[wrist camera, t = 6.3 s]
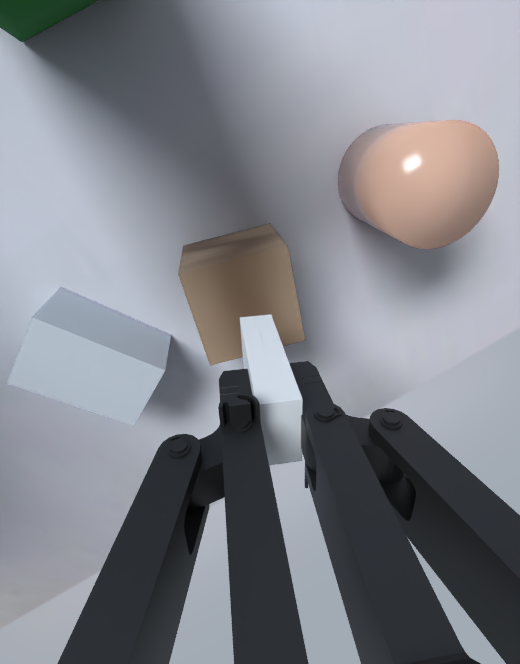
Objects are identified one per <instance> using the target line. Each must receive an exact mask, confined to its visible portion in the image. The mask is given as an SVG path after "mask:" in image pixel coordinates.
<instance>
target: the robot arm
mask: <svg viewBox="0 0 520 664" xmlns="http://www.w3.org/2000/svg"><path fill="white" fill-rule="evenodd" d="M240 327H241V340H242V353H243V366H244V369H240V370H231V371H223V373H222V375H221V376H220V378H219V388H220V403H219V407H218V409H219V417H220V426H219V428H218V429H217V430H216V431H215V432H214V433H212V434H211V435H209V436H207V437H205V438H202V439H200V440H198V439H197V438H196V437H194V436H193V435H188V434H179V435H175V436H172V437H170V438H168V439H167V440H165V441H164V442H163V443H162V444H161V445H160V447H159V448H158V450H157V452H156V454H155V457H154V459H153V461H152V463H151V465H150V467H149V469H148V472H147V474H146V476H145V478H144V480H143V482H142V484H141V487H140V489H139V491H138V493H137V495H136V497H135V499H134V501H133V504H132V506H131V508H130V510H129V512H128V514H127V516H126V519H125V521H124V523H123V525H122V527H121V529H120V531H119V534H118V536H117V538H116V540H115V542H114V544H113V546H112V548H111V551H110V553H109V555H108V557H107V559H106V561H105V563H104V566H103V568H102V570H101V572H100V574H99V576H98V578H97V581H96V583H95V585H94V587H93V589H92V592H91V593H90V596H89V598H88V600H87V602H86V604H85V606H84V608H83V610H82V613H81V615H80V617H79V619H78V621H77V623H76V625H75V628H74V630H73V632H72V634H71V636H70V638H69V640H68V643H67V645H66V647H65V649H64V651H63V653H62V655H61V657H60V660H59V662H58V664H169V661H170V657H171V653H172V649H173V646H174V642H175V638H176V634H177V630H178V626H179V623H180V619H181V615H182V611H183V607H184V603H185V599H186V596H187V592H188V588H189V584H190V580H191V576H192V572H193V569H194V565H195V561H196V557H197V553H198V549H199V545H200V541H201V538H202V534H203V530H204V526H205V522H206V518H207V514H208V511H209V504H210V503H212V502H215V501H217V500H219V499H221V498H223V497H225V509H226V526H227V527H226V528H227V544H228V561H229V562H228V563H229V581H230V597H231V615H232V633H233V649H234V650H233V651H234V664H308V660H307V655H306V649H305V645H304V639H303V634H302V629H301V624H300V619H299V614H298V609H297V604H296V599H295V594H294V589H293V584H292V579H291V574H290V568H289V564H288V558H287V553H286V548H285V543H284V538H283V533H282V528H281V523H280V518H279V513H278V508H277V503H276V498H275V493H274V488H273V482H272V478H271V472H270V467H269V465H274V464H281V463H289V462H296V461H302V452H303V455H304V459H305V488H308V484H309V487H310V491H311V494H312V497H313V501H314V504H315V508H316V511H317V515H318V518H319V522H320V525H321V528H322V531H323V535H324V538H325V542H326V545H327V549H328V552H329V555H330V559H331V562H332V566H333V569H334V573H335V576H336V579H337V583H338V586H339V590H340V593H341V596H342V600H343V603H344V606H345V610H346V614H347V617H348V620H349V624H350V627H351V630H352V634H353V637H354V641H355V644H356V647H357V651H358V654H359V658H360V661H361V664H480V663H479V662H476V661H475V660H473V659H471V658H470V657H469V656H468V655H467V654H466V652H465V651H464V649H463V648H462V646H461V644H460V642H459V640H458V638H457V636H456V634H455V632H454V630H453V628H452V626H451V624H450V622H449V620H448V618H447V616H446V614H445V612H444V611H443V608H442V606H441V604H440V602H439V600H438V598H437V596H436V594H435V592H434V590H433V588H432V586H431V584H430V582H429V580H428V578H427V576H426V574H425V572H424V570H423V568H422V566H421V564H420V562H419V560H418V558H417V556H416V554H415V552H414V550H413V548H412V546H411V544H410V542H409V540H410V541H411V542H412V544H413V545H414V546H415V547H416V549H417V550H418V551H419V553H420V554H421V555H422V556H423V558H424V559H425V560H426V561H427V563H428V564H429V565H430V567H431V568H432V569H433V570H434V572H435V573H436V574H437V576H438V577H439V578H440V579H441V581H442V582H443V583H444V585H445V586H446V587H447V588H448V590H449V591H450V592H451V593H452V595H453V596H454V597H455V599H456V600H457V601H458V603H459V604H460V605H461V606H462V608H463V609H464V610H465V611H466V613H467V614H468V615H469V617H470V618H471V619H472V620H473V622H474V623H475V624H476V625H477V627H478V628H479V629H480V631H481V632H482V633H483V634H484V636H485V637H486V638H487V640H488V641H489V642H490V643H491V645H492V646H493V647H494V649H495V650H496V651H497V652H498V654H499V655H500V656H501V658H502V659H503V660H504V661H505V663H506V664H520V515H519V514H517V513H516V512H515V511H514V510H513V509H512V508H511V507H510V506H508V505H507V504H506V503H505V502H504V501H503V500H502V499H500V498H499V497H498V496H497V495H496V494H495V493H494V492H493V491H492V490H490V489H489V488H488V487H487V486H486V485H485V484H484V483H483V482H481V481H480V480H479V479H478V478H477V477H476V476H475V475H474V474H472V473H471V472H470V471H469V470H468V469H467V468H466V467H464V466H463V465H462V464H461V463H460V462H459V461H458V460H457V459H455V458H454V457H453V456H452V455H451V454H450V453H449V452H448V451H446V450H445V449H444V448H443V447H442V446H441V445H440V444H438V443H437V442H436V441H435V440H434V439H432V437H431V436H430V435H428V434H427V433H426V432H425V431H424V430H423V429H422V428H420V427H419V426H418V425H417V424H416V423H415V422H414V421H413V420H412V419H410V418H409V417H408V416H407V415H405V414H404V413H402V412H400V411H397V410H395V409H387V408H384V409H378V410H376V411H374V412H373V413H372V414H371V416H370V419H365V418H356V417H351V416H348V415H346V414H345V412H344V411H343V410H342V409H341V408H340V407H338V406H337V405H335V404H333V402H332V399H331V397H330V395H329V393H328V391H327V389H326V387H325V385H324V383H323V381H322V379H321V377H320V375H319V372H318V370H317V368H316V367H315V366H314V365H312V364H311V363H310V362H308V361H306V362H297V363H289V361H288V359H287V356H286V353H285V351H284V348H283V345H282V342H281V340H280V337H279V334H278V332H277V329H276V326H275V324H274V321H273V318H272V315H260V316H249V317H240ZM407 537H408V538H409V540H408V538H407Z"/></svg>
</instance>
